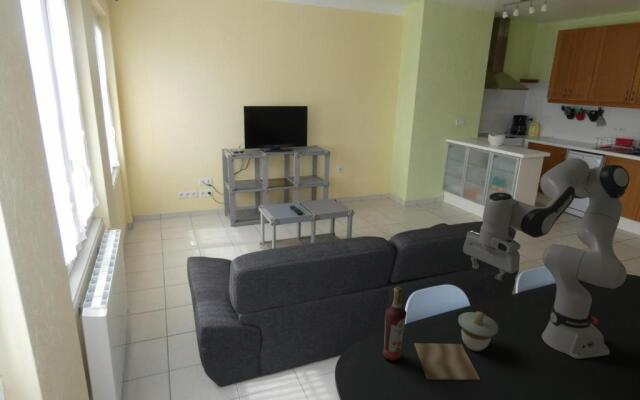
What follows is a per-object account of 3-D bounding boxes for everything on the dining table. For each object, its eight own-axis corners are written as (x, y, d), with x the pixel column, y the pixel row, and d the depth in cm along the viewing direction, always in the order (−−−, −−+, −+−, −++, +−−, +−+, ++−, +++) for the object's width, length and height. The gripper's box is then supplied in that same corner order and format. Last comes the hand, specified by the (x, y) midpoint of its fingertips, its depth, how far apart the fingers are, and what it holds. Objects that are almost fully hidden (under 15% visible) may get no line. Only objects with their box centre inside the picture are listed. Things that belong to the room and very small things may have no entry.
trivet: (461, 345, 146) (461, 344, 146) (480, 380, 129) (480, 379, 129) (414, 344, 146) (414, 343, 146) (427, 379, 129) (427, 378, 128)
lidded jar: (491, 357, 140) (496, 335, 137) (461, 352, 142) (464, 331, 139) (485, 339, 150) (489, 318, 147) (457, 335, 152) (460, 314, 149)
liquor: (390, 366, 134) (397, 296, 126) (377, 354, 140) (383, 286, 132) (406, 358, 138) (413, 290, 130) (392, 347, 144) (398, 281, 136)
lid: (488, 314, 150) (490, 303, 149) (504, 337, 137) (507, 325, 135) (452, 313, 150) (454, 302, 148) (466, 336, 137) (468, 324, 135)
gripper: (462, 230, 141) (457, 264, 145) (514, 250, 125) (506, 288, 129) (473, 227, 144) (467, 260, 148) (525, 246, 128) (517, 283, 132)
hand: (486, 273), depth 138 cm, fingers open, 8 cm apart
